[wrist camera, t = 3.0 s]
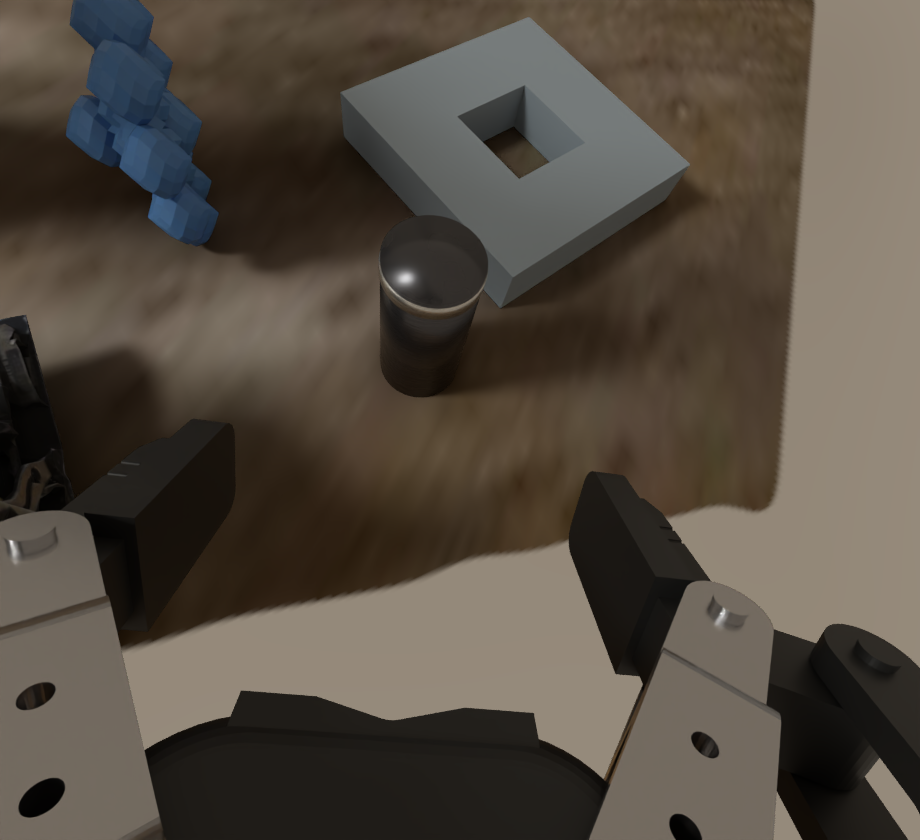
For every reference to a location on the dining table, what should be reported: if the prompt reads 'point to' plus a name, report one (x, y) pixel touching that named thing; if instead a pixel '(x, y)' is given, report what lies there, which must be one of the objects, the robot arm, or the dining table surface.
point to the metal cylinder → (427, 301)
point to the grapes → (140, 117)
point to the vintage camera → (27, 430)
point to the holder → (485, 176)
